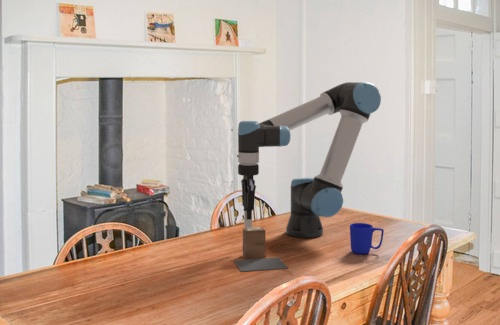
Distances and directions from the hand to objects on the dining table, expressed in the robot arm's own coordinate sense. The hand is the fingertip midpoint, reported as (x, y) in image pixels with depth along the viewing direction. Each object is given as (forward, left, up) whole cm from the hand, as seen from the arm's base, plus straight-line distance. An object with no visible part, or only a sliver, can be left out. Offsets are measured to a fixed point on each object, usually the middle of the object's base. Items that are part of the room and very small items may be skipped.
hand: (248, 227), depth 211 cm
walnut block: (+9, 0, -9) cm, 12 cm away
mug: (+13, +41, -9) cm, 44 cm away
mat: (+18, 0, -9) cm, 20 cm away
